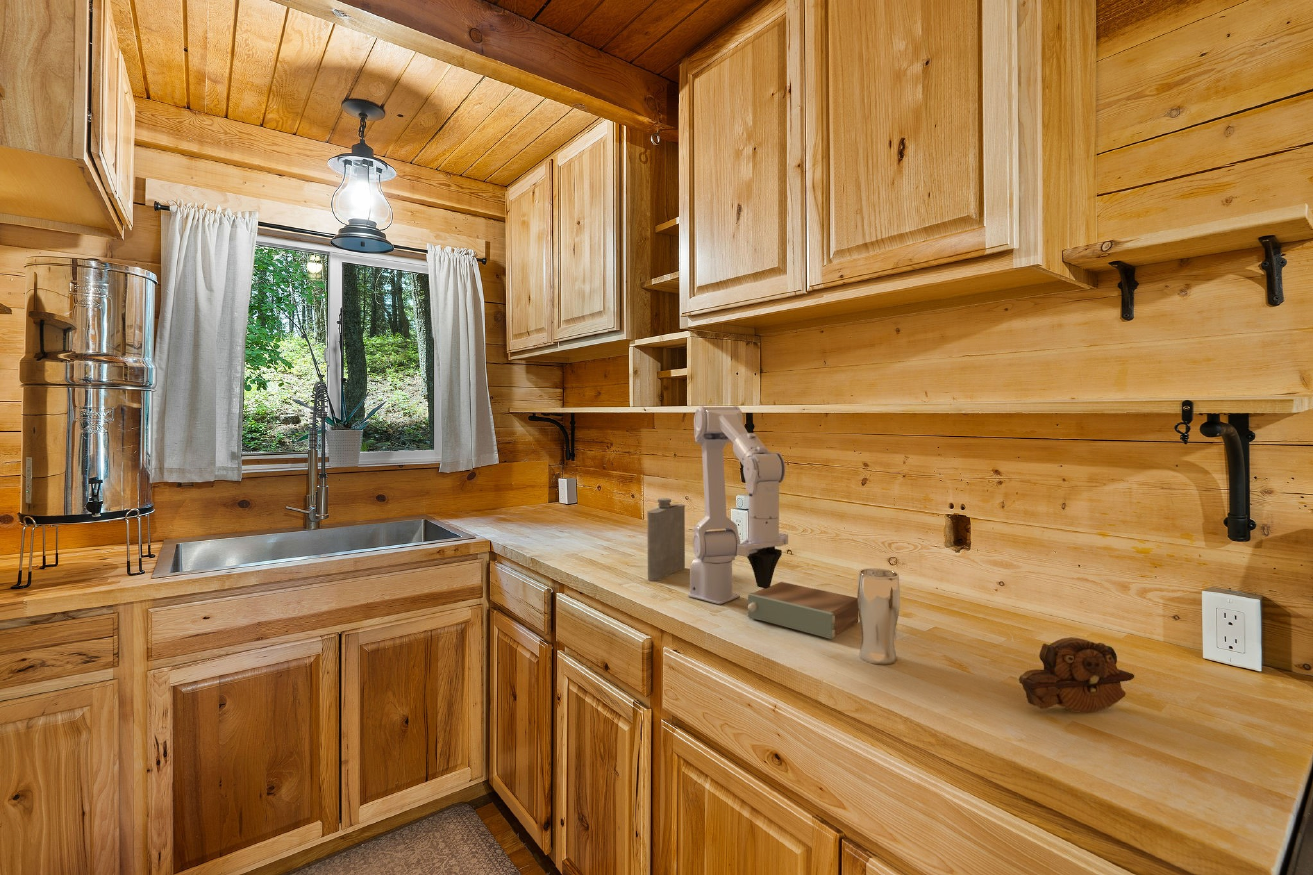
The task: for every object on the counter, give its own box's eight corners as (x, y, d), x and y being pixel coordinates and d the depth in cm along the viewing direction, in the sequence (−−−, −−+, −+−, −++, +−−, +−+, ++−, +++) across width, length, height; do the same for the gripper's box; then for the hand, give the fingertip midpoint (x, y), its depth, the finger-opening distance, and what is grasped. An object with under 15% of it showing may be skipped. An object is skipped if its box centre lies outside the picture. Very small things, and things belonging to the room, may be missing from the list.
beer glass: (865, 647, 113) (866, 565, 113) (904, 656, 109) (905, 571, 108) (850, 659, 108) (851, 573, 107) (891, 669, 103) (892, 580, 103)
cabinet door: (744, 618, 128) (744, 595, 128) (750, 615, 130) (750, 593, 129) (829, 641, 115) (829, 616, 115) (835, 637, 117) (835, 613, 116)
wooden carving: (1040, 723, 86) (1042, 652, 85) (1015, 708, 90) (1016, 640, 90) (1141, 712, 89) (1143, 643, 88) (1111, 697, 93) (1113, 632, 93)
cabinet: (750, 617, 130) (750, 593, 130) (781, 603, 139) (781, 581, 138) (830, 638, 118) (830, 612, 117) (858, 622, 126) (858, 598, 126)
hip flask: (655, 581, 157) (655, 503, 156) (642, 579, 159) (641, 501, 158) (686, 568, 171) (686, 495, 170) (674, 566, 173) (673, 494, 172)
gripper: (760, 524, 111) (759, 599, 111) (801, 514, 121) (801, 583, 122) (727, 519, 115) (727, 592, 116) (770, 510, 126) (770, 576, 127)
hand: (763, 587), depth 119 cm, fingers closed
